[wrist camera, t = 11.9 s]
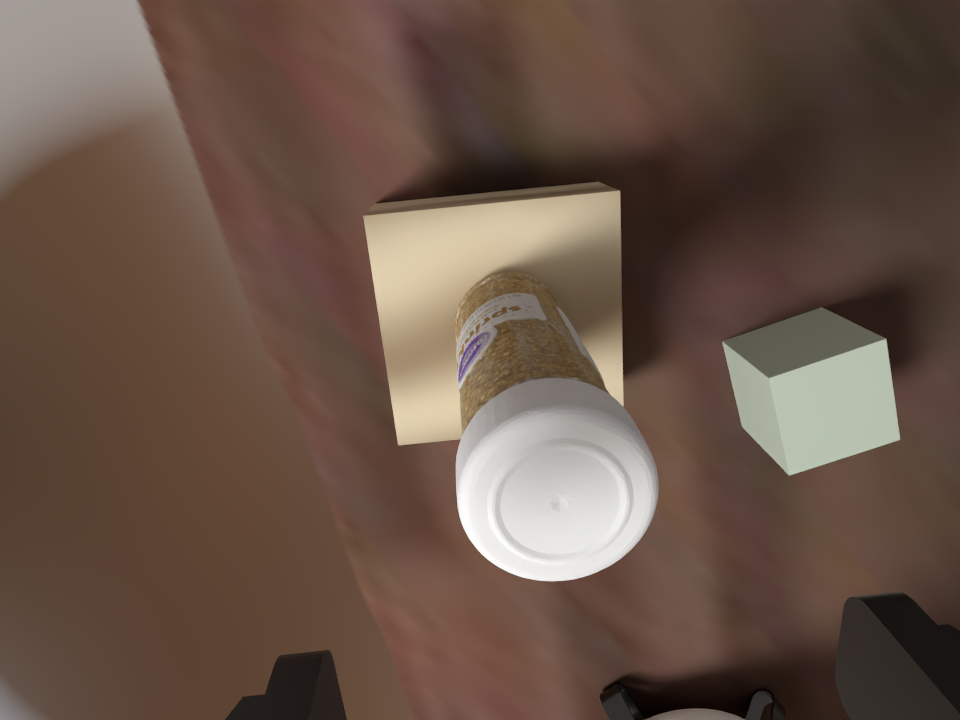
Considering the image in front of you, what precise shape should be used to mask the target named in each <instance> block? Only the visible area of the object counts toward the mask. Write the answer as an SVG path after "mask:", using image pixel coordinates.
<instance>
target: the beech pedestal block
mask: <svg viewBox="0 0 960 720" xmlns="http://www.w3.org/2000/svg"><path fill="white" fill-rule="evenodd" d="M363 217H364V223H365V230H366V236H367V243H368V249H369V256H370V263H371V269H372V276H373V282H374V289H375V296H376V302H377V309H378V315H379V322H380V328H381V335H382V342H383V348H384V355H385V361H386V368H387V374H388V381H389V388H390V394H391V401H392V407H393V414H394V421H395V427H396V434H397V440H398V445H407V444H417V443H426V442H436V441H446V440H456V439H461V437H462V427H461V413H460V397H459V392H458V385H457V360H456V348H457V342H456V338H455V330H454V322H455V315H456V311H457V308H458V305H459V302H460V301H461V300H462V298H463V296H464V295H465V294H466V293H467V292H468V291H469V290H470V289H471V287H473V286H475V285H476V284H477V283H478V282H479V281H481V280H482V279H484V278H486V277H488V276H491V275H494V274H497V273H505V272H509V273H510V272H519V273H524V274H528V275H531V276H534V277H536V278H537V279H539V280H540V281H541V282H543V283H544V284H545V285H546V286H547V287H549V288H550V289H551V290H552V292H553V294H554V296H555V297H556V299H557V300H558V302H559V304H560V306H561V309H562V311H563V313H564V314H565V315H566V317H567V318H568V319H569V321H570V323H571V324H572V326H573V328H574V329H575V331H576V333H577V334H578V336H579V337H580V339H581V341H582V342H583V344H584V346H585V347H586V349H587V351H588V352H589V354H590V356H591V357H592V359H593V361H594V363H595V364H596V366H597V368H598V370H599V372H600V374H601V376H602V378H603V381H604V384H605V387H606V389H607V391H608V392H609V394H610V395H611V396H612V397H614V398H615V399H616V400H617V401H618V402H619V403H620V404H621V405H622V406H623V347H622V276H621V205H620V190H618V189H615V188H612V187H610V186H607V185H605V184H602V183H600V182H590V183H580V184H570V185H559V186H549V187H539V188H529V189H519V190H509V191H498V192H488V193H478V194H468V195H458V196H447V197H437V198H427V199H417V200H407V201H397V202H386V203H376V204H374V205H373V206H372V207H371V208H370V209H369V210H368V211H367V212H366V214H365V215H364V216H363Z"/></svg>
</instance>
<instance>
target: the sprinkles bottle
mask: <svg viewBox="0 0 960 720" xmlns="http://www.w3.org/2000/svg"><path fill="white" fill-rule="evenodd" d="M454 330H455V338H456V342H457V348H456V360H457V385H458V392H459V397H460V413H461V427H462V437H461V441H460V444H459V448H458V452H457V456H456V492H457V504H458V511H459V515H460V519H461V522H462V525H463V528H464V530H465V532H466V533H467V535H468V537H469V539H470V540H471V542H472V543H473V545H474V546H475V547H476V548H477V550H478V551H479V552H480V553H481V554H482V555H483V556H484V557H486V558H487V559H488V560H489V561H491V562H492V563H493V564H495V565H496V566H498V567H500V568H501V569H503V570H505V571H507V572H509V573H512V574H514V575H517V576H520V577H523V578H528V579H533V580H540V581H563V580H571V579H577V578H581V577H585V576H588V575H591V574H593V573H596V572H598V571H600V570H602V569H604V568H606V567H608V566H610V565H612V564H613V563H615V562H616V561H618V560H619V559H621V558H622V557H623V556H624V555H625V554H627V553H628V552H629V551H630V550H631V549H632V548H633V547H634V546H635V545H636V544H637V543H638V542H639V540H640V539H641V538H642V536H643V535H644V533H645V531H646V530H647V528H648V526H649V524H650V522H651V520H652V518H653V515H654V512H655V509H656V505H657V500H658V487H659V485H658V474H657V469H656V465H655V462H654V459H653V456H652V454H651V452H650V450H649V448H648V446H647V444H646V442H645V440H644V438H643V437H642V435H641V433H640V431H639V430H638V428H637V426H636V424H635V423H634V421H633V419H632V418H631V416H630V415H629V413H628V412H627V411H626V410H625V408H624V407H623V406H622V405H621V404H620V403H619V402H618V401H617V400H616V399H615V398H614V397H612V396H611V395H610V394H609V392H608V391H607V389H606V387H605V384H604V381H603V378H602V376H601V374H600V372H599V370H598V368H597V366H596V364H595V363H594V361H593V359H592V357H591V356H590V354H589V352H588V351H587V349H586V347H585V346H584V344H583V342H582V341H581V339H580V337H579V336H578V334H577V333H576V331H575V329H574V328H573V326H572V324H571V323H570V321H569V319H568V318H567V317H566V315H565V314H564V313H563V311H562V309H561V306H560V304H559V302H558V300H557V299H556V297H555V296H554V294H553V292H552V290H551V289H550V288H549V287H547V286H546V285H545V284H544V283H543V282H541V281H540V280H539V279H537V278H536V277H534V276H531V275H528V274H524V273H519V272H510V273H509V272H505V273H497V274H494V275H491V276H488V277H486V278H484V279H482V280H481V281H479V282H478V283H477V284H476V285H475V286H473V287H471V289H470V290H469V291H468V292H467V293H466V294H465V295H464V296H463V298H462V300H461V301H460V302H459V305H458V308H457V311H456V315H455V322H454Z"/></svg>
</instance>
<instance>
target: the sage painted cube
mask: <svg viewBox="0 0 960 720" xmlns="http://www.w3.org/2000/svg"><path fill="white" fill-rule="evenodd" d="M722 342H723V347H724V351H725V355H726V360H727V364H728V368H729V372H730V377H731V381H732V385H733V390H734V394H735V398H736V402H737V407H738V411H739V415H740V420H741V424H742V427H743V428H744V429H745V430H746V431H747V432H748V433H749V434H750V435H751V436H752V438H753V439H754V440H755V441H756V442H757V443H758V444H759V445H760V446H761V447H762V448H763V449H764V450H765V451H766V452H767V453H768V454H769V455H770V456H771V457H772V458H773V459H774V460H775V461H776V462H777V463H778V464H779V465H780V466H781V467H782V468H783V470H784V471H785V472H786V473H787V474H788V475H789V476H790V475H793V474H796V473H799V472H802V471H805V470H808V469H811V468H814V467H817V466H820V465H824V464H827V463H830V462H833V461H836V460H839V459H842V458H845V457H848V456H851V455H854V454H857V453H861V452H864V451H867V450H870V449H873V448H876V447H879V446H882V445H885V444H888V443H891V442H895V441H898V440H900V435H899V428H898V421H897V413H896V406H895V399H894V391H893V384H892V377H891V369H890V362H889V355H888V348H887V340H886V338H884V337H882V336H880V335H878V334H876V333H873V332H871V331H869V330H867V329H865V328H863V327H861V326H859V325H857V324H855V323H853V322H851V321H849V320H847V319H845V318H843V317H841V316H839V315H837V314H835V313H833V312H831V311H829V310H827V309H825V308H823V307H821V308H818V309H815V310H812V311H809V312H806V313H803V314H800V315H798V316H795V317H792V318H789V319H786V320H783V321H780V322H777V323H774V324H771V325H768V326H765V327H763V328H760V329H757V330H754V331H751V332H748V333H745V334H742V335H739V336H736V337H733V338H730V339H727V340H725V341H722Z"/></svg>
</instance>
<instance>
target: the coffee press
mask: <svg viewBox="0 0 960 720" xmlns="http://www.w3.org/2000/svg"><path fill="white" fill-rule="evenodd" d="M600 699H601V702H602V705H603V707H604V709H605V711H606V713H607V715H608V717H609V719H610V720H760V718H761V715H762V711H763V709H764V707H765V706H766V705H767V704H769V703H772V709H771V717H770V720H785V709H784V707H783V705H782V704H781V703H780V702H779V701H778V699H777V698H776V697H775V696H774V695H773V694H772V693H771V692H770V691H769V690H767V689H758V690H756V691H755V692H754V693H753V694H752V695H751V698H750V700H749V704H748V707H747V710H746V713H745V715H744V717H743V718H741V717H739V716H736V715H733V714H731V713H727V712H723V711H719V710H713V709H701V708H693V709H680V710H674V711H669V712H665V713H661V714H658V715H655V716H652V717H650V718H647V719H645V717H644V716H643V715H642V714H641V712H640V711H639V709H638V708H637V706H636V705H635V703H634V702H633V700H632V698H631V696H630V695H629V693H628V692H627V690H626V689H625V687H624V686H623V685H622V684H621V683H617V684H615V685H614V686H612V687H611V688H609V689H607V690H606V691H604V692H603V693H601V694H600Z"/></svg>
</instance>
